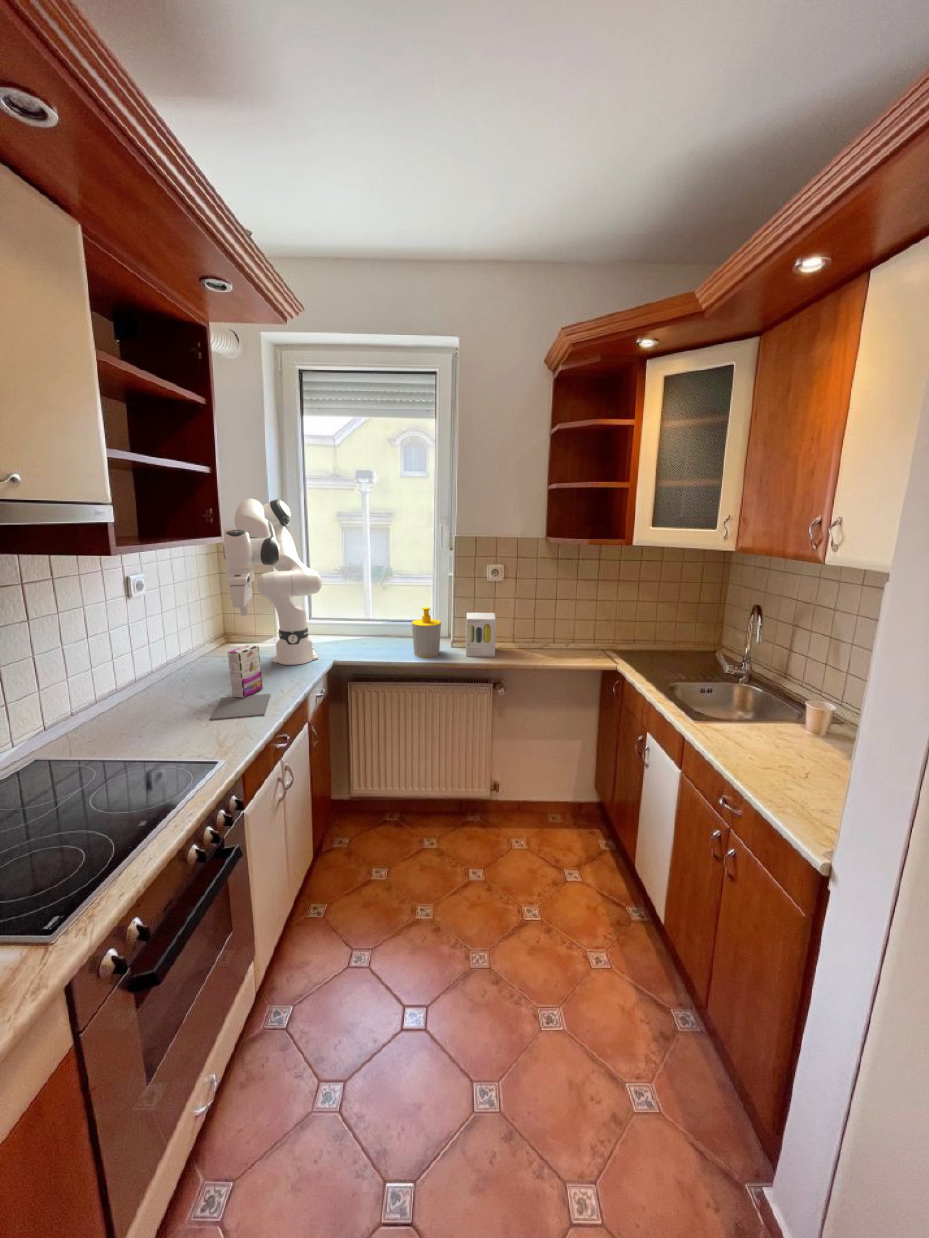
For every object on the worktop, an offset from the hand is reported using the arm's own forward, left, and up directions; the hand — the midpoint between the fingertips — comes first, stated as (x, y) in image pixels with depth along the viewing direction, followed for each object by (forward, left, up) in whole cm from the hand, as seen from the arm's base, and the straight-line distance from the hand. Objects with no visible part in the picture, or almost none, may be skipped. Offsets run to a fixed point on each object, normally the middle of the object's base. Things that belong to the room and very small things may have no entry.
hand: (244, 615), depth 180 cm
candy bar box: (+8, 0, -27) cm, 28 cm away
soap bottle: (-26, +71, -27) cm, 80 cm away
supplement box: (-22, +95, -27) cm, 101 cm away
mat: (+20, 0, -27) cm, 34 cm away
